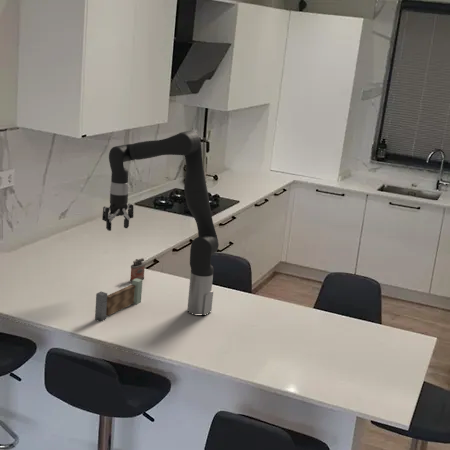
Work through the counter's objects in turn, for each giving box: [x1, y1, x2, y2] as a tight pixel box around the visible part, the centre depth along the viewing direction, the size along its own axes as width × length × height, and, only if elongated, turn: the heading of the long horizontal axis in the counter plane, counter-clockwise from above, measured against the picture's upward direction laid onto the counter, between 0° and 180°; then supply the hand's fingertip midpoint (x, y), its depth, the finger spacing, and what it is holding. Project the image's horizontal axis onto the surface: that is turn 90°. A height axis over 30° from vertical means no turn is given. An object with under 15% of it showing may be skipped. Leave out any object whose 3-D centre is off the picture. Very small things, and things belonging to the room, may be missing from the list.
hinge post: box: [94, 291, 108, 322], centre depth 270 cm, size 3×3×11 cm
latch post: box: [131, 278, 143, 305], centre depth 291 cm, size 3×3×10 cm
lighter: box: [129, 257, 146, 283], centre depth 316 cm, size 8×3×10 cm, turn 143°
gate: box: [106, 284, 135, 317], centre depth 281 cm, size 17×2×8 cm, turn 151°
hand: (117, 229), depth 298 cm, fingers open, 8 cm apart
